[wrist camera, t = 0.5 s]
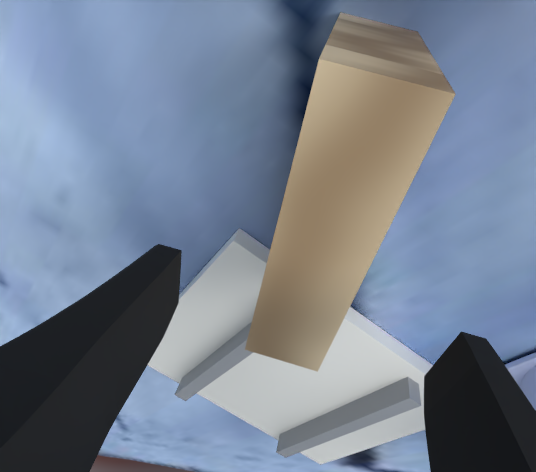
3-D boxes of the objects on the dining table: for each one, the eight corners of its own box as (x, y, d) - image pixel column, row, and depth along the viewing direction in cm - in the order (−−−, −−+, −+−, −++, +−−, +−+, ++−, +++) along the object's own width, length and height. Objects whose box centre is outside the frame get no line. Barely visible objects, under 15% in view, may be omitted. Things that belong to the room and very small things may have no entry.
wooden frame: (417, 31, 14) (455, 93, 8) (332, 247, 21) (317, 371, 15) (340, 12, 14) (319, 58, 8) (281, 232, 21) (244, 349, 15)
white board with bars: (474, 395, 26) (484, 434, 24) (321, 450, 35) (318, 482, 33) (239, 227, 22) (225, 257, 19) (136, 342, 31) (119, 371, 29)
